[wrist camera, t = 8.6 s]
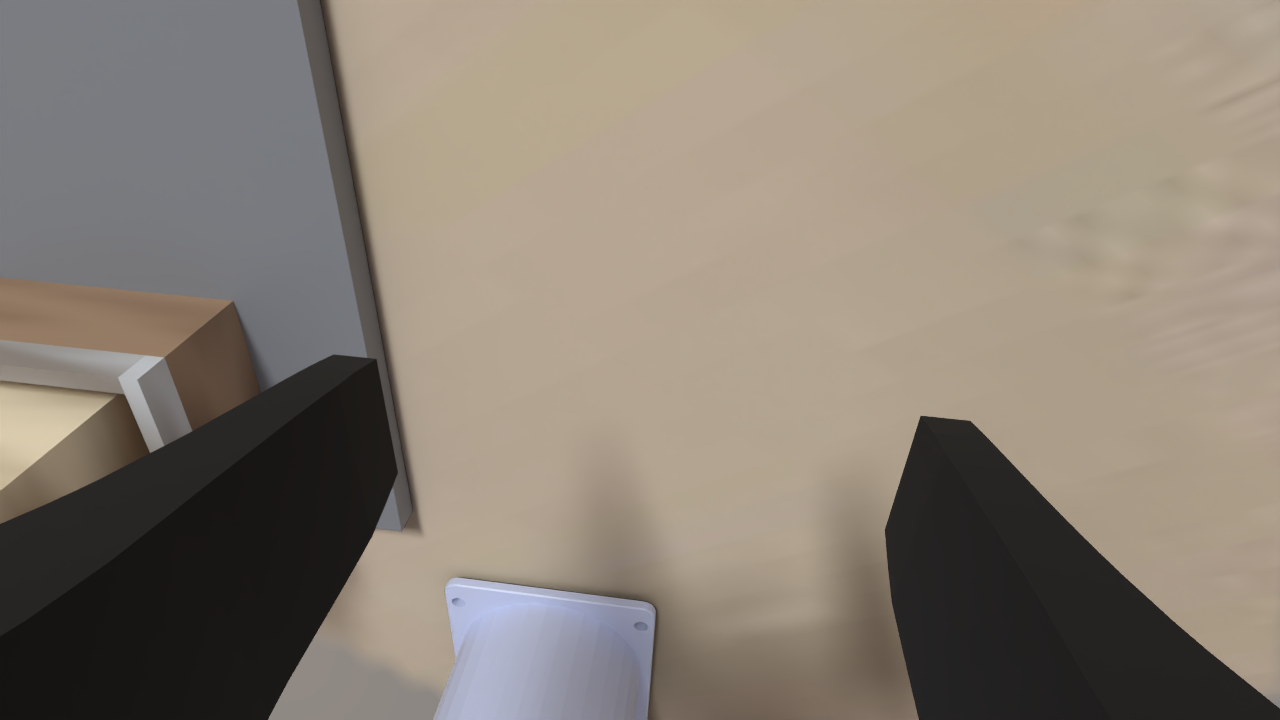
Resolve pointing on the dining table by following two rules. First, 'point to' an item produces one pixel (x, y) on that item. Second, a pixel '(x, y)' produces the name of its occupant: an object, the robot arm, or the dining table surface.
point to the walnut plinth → (129, 351)
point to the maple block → (60, 442)
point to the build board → (191, 171)
